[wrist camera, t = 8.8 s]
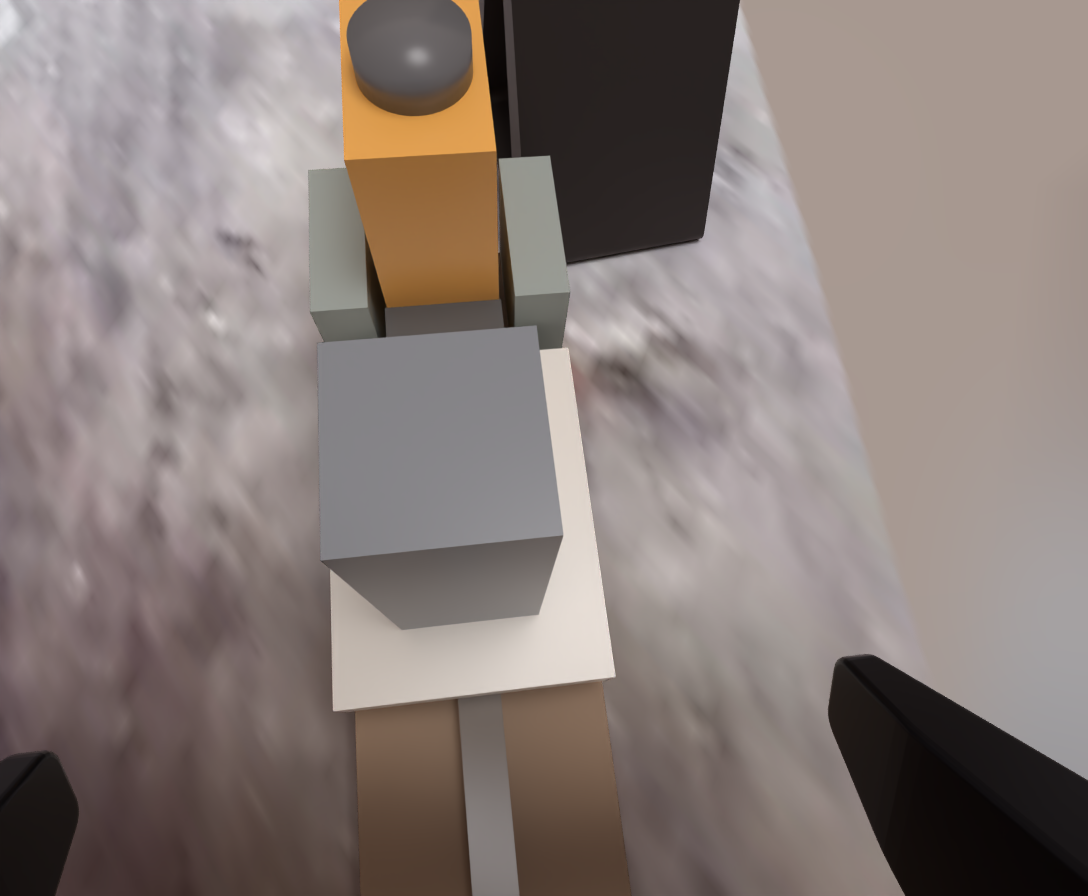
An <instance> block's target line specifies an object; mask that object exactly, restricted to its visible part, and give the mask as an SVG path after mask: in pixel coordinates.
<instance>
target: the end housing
mask: <svg viewBox="0 0 1088 896" xmlns="http://www.w3.org/2000/svg"><path fill="white" fill-rule="evenodd" d="M308 184H309V274H310V313H311V315H312V317H313V319H314V321H315V323H316V325H317V328H318V330H319V332H320V334H321V336H322V338H323V340H324V342H334V341H347V340H360V339H372V338H385V337H386V321H385V308H387V306H386V303H385V299H384V296H383V292H382V289H381V286H380V282H379V279H378V275H377V272H376V268H375V265H374V261H373V258H372V254H371V251H370V248H369V244H368V241H367V237H366V234H365V230H364V227H363V223H362V220H361V216H360V213H359V209H358V206H357V203H356V199H355V196H354V192H353V189H352V185H351V182H350V178H349V175H348V171H347V168H336V169H319V170H308ZM499 220H500V258H501V267H502V276H503V284H504V293H505V302H506V311H507V319H508V328H511V327H523V326H536V325H537V333H538V341H539V349H540V350H546V349H558V348H562V343H563V337H564V330H565V324H566V317H567V310H568V304H569V297H570V287H569V280H568V274H567V267H566V260H565V253H564V247H563V240H562V233H561V227H560V220H559V213H558V207H557V200H556V193H555V186H554V180H553V173H552V166H551V160H550V156H537V157H520V158H503V159H499Z"/></svg>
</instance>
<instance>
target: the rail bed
mask: <svg viewBox="0 0 1088 896" xmlns="http://www.w3.org/2000/svg"><path fill="white" fill-rule="evenodd" d="M498 274H499V299H501V304H502V313H503V322H504V328H508V319H507V311H506V302H505V293H504V284H503V276H502V267H501V258H500V253H498ZM355 728H356V763H357V798H358V833H359V867H360V896H631V889H630V882H629V875H628V867H627V860H626V853H625V846H624V838H623V831H622V824H621V816H620V809H619V802H618V795H617V787H616V780H615V773H614V766H613V758H612V751H611V744H610V736H609V729H608V722H607V715H606V707H605V700H604V693H603V686H602V681H598V682H589V683H581V684H573V685H565V686H557V687H548V688H540V689H532V690H524V691H516V692H507V693H499V694H491V695H483V696H475V697H466V698H458V699H450V700H442V701H433V702H425V703H417V704H409V705H401V706H392V707H384V708H376V709H368V710H360V711H355Z"/></svg>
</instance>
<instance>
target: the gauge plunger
mask: <svg viewBox="0 0 1088 896" xmlns="http://www.w3.org/2000/svg"><path fill="white" fill-rule="evenodd" d="M339 11H340V42H341V74H342V106H343V137H344V161H345V165H346V168H347V171H348V175H349V178H350V182H351V185H352V189H353V192H354V196H355V199H356V203H357V206H358V209H359V213H360V216H361V220H362V223H363V227H364V230H365V234H366V237H367V241H368V244H369V248H370V251H371V254H372V258H373V261H374V265H375V268H376V272H377V275H378V279H379V282H380V286H381V289H382V292H383V296H384V299H385V303H386V306H387V308H391V307H405V306H418V305H431V304H444V303H457V302H470V301H483V300H497V299H499V274H498V214H497V153H496V143H495V135H494V126H493V118H492V109H491V101H490V93H489V84H488V76H487V67H486V59H485V51H484V42H483V34H482V25H481V17H480V9H479V0H339Z"/></svg>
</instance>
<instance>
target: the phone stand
mask: <svg viewBox="0 0 1088 896" xmlns="http://www.w3.org/2000/svg"><path fill="white" fill-rule="evenodd" d="M739 3H740V0H479V9H480V17H481V25H482V34H483V42H484V51H485V59H486V67H487V76H488V84H489V93H490V101H491V109H492V118H493V126H494V135H495V143H496V153H497V161H498V167H499V159H503V158H520V157H537V156H550V160H551V166H552V173H553V180H554V186H555V193H556V200H557V207H558V213H559V220H560V227H561V233H562V240H563V247H564V253H565V260H566V263H567V262H573V261H578V260H584V259H589V258H595V257H600V256H606V255H611V254H617V253H622V252H628V251H633V250H639V249H645V248H650V247H656V246H661V245H667V244H672V243H678V242H683V241H689V240H694V239H700V238H702V237H703V235H704V229H705V223H706V216H707V210H708V204H709V197H710V191H711V184H712V178H713V171H714V165H715V158H716V152H717V145H718V139H719V132H720V126H721V119H722V113H723V106H724V100H725V93H726V87H727V80H728V74H729V67H730V61H731V54H732V48H733V41H734V35H735V29H736V22H737V16H738V9H739Z"/></svg>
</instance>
